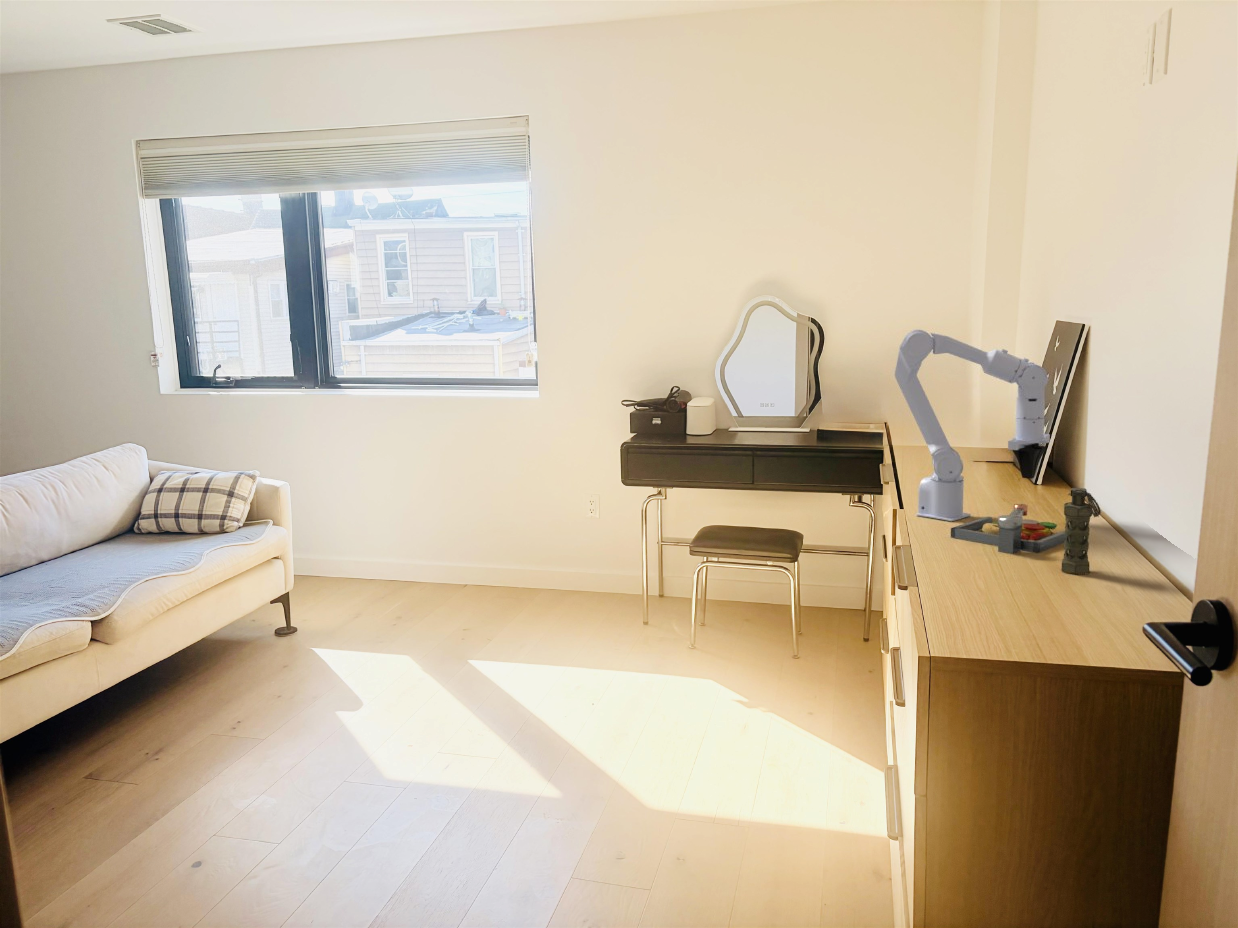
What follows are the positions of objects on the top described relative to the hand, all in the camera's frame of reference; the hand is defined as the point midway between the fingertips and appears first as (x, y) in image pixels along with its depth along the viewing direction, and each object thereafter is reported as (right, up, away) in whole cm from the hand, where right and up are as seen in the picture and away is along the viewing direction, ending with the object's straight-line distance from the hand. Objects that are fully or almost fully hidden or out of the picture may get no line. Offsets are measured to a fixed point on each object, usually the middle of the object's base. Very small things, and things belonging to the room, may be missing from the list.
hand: (1028, 477), depth 193 cm
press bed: (-12, -13, -16) cm, 23 cm away
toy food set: (-8, -13, -14) cm, 20 cm away
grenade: (-9, -16, -38) cm, 42 cm away
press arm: (-12, -8, -20) cm, 25 cm away
